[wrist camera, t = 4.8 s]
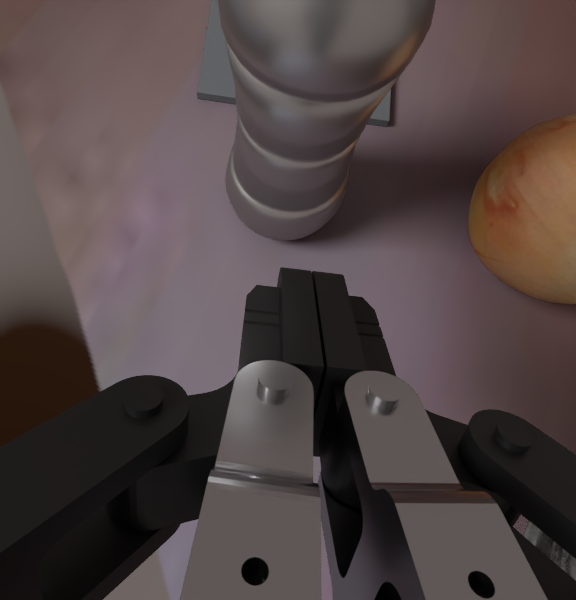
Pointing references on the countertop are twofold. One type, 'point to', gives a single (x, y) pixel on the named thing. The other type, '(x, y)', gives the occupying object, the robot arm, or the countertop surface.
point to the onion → (530, 212)
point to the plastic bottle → (308, 99)
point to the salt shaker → (551, 549)
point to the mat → (219, 77)
